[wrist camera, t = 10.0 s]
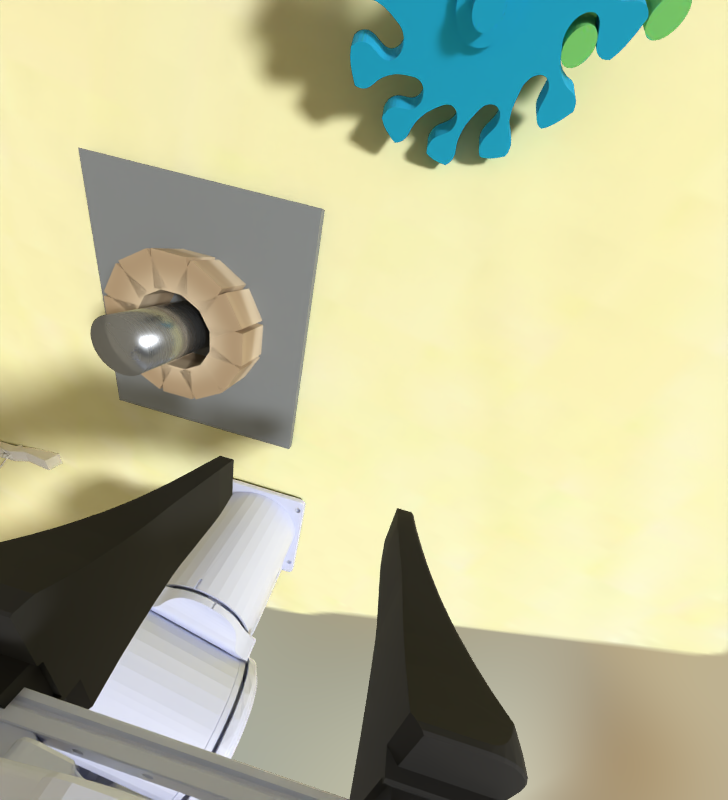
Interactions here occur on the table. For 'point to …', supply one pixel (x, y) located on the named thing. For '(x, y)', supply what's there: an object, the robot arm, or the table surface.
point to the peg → (149, 336)
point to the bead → (218, 304)
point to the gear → (497, 58)
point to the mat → (242, 253)
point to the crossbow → (29, 455)
